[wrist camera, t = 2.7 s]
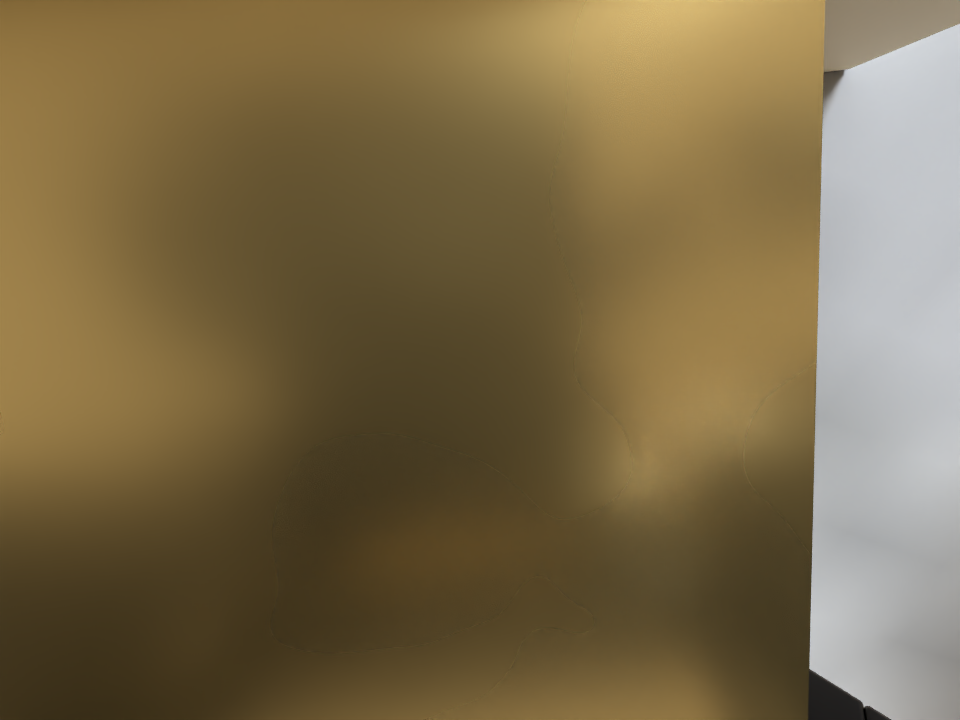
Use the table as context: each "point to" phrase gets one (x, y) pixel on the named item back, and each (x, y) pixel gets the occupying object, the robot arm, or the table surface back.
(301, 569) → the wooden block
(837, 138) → the table surface
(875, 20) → the block
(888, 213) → the table surface
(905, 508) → the table surface
